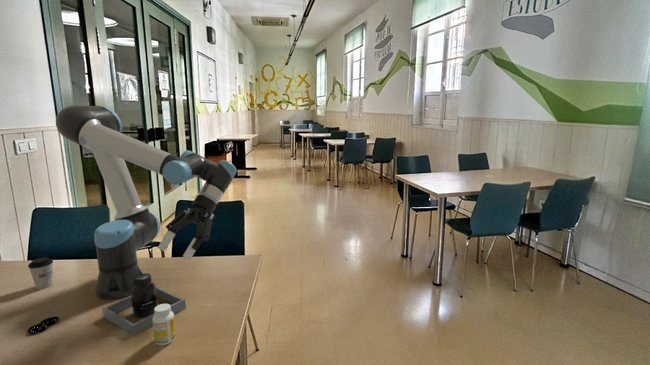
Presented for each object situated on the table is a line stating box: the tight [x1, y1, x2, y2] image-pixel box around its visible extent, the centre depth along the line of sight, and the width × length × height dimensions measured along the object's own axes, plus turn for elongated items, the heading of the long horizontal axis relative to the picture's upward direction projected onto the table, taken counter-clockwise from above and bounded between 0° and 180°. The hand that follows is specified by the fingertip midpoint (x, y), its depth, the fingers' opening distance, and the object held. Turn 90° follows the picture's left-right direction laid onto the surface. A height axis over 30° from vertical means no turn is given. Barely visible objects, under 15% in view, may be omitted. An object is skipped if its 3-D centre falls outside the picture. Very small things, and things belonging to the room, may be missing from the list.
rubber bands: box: [27, 316, 59, 335], centre depth 101 cm, size 5×8×1 cm, turn 167°
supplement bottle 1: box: [130, 272, 158, 319], centre depth 106 cm, size 7×7×12 cm
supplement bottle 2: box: [152, 303, 177, 346], centre depth 94 cm, size 5×5×10 cm
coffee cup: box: [27, 256, 54, 290], centre depth 123 cm, size 7×7×10 cm
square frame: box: [102, 286, 187, 336], centre depth 107 cm, size 17×17×3 cm
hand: (173, 253), depth 113 cm, fingers open, 13 cm apart
